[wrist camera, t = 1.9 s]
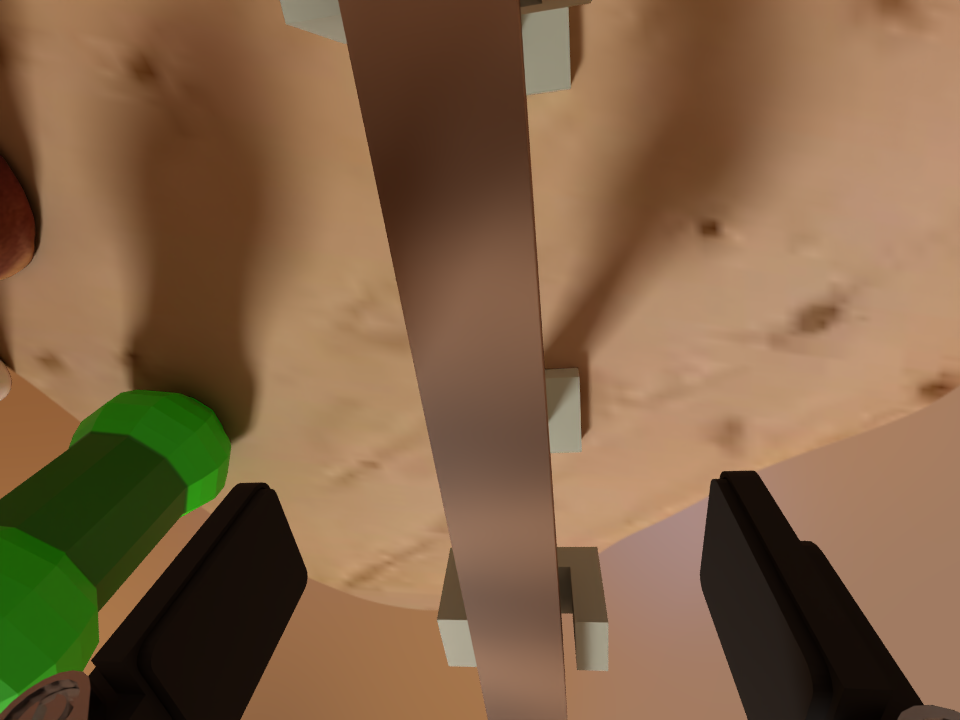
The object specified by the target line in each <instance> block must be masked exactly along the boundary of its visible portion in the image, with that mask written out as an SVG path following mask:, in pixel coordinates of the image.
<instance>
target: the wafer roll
mask: <svg viewBox="0 0 960 720" xmlns="http://www.w3.org/2000/svg"><path fill="white" fill-rule="evenodd" d="M35 232H36V230H35V221H34V217H33V214H32V211H31V208H30V205H29V203H28V200H27V198H26V195H25V193H24V191H23V189H22V187H21V185H20V183H19V182H18V180H17V178H16V177H15V175H14V174H13V172H12V171H11V169H10V167H9V166H8V164H7V163H6V161H5V160H4V158H3V157H2V156H1V155H0V280H2V279H5V278H8V277H10V276H12V275H14V274H16V273H17V272H19V271H20V270H22V269H23V268H25V267H26V266H27V265H28V264H29V263H30V262H31V261H32V259H33V257H34V253H35Z"/></svg>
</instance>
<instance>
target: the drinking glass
mask: <svg viewBox="0 0 960 720" xmlns="http://www.w3.org/2000/svg"><path fill="white" fill-rule="evenodd" d="M11 385H12V380H11V376H10V373H9V371H8V369H7V367H6V366H5V364H4V363H3V362H2V361H1V360H0V400H2V399H3V398H5V397H6V396H7V395H8V393H9V392H10V390H11Z"/></svg>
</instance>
